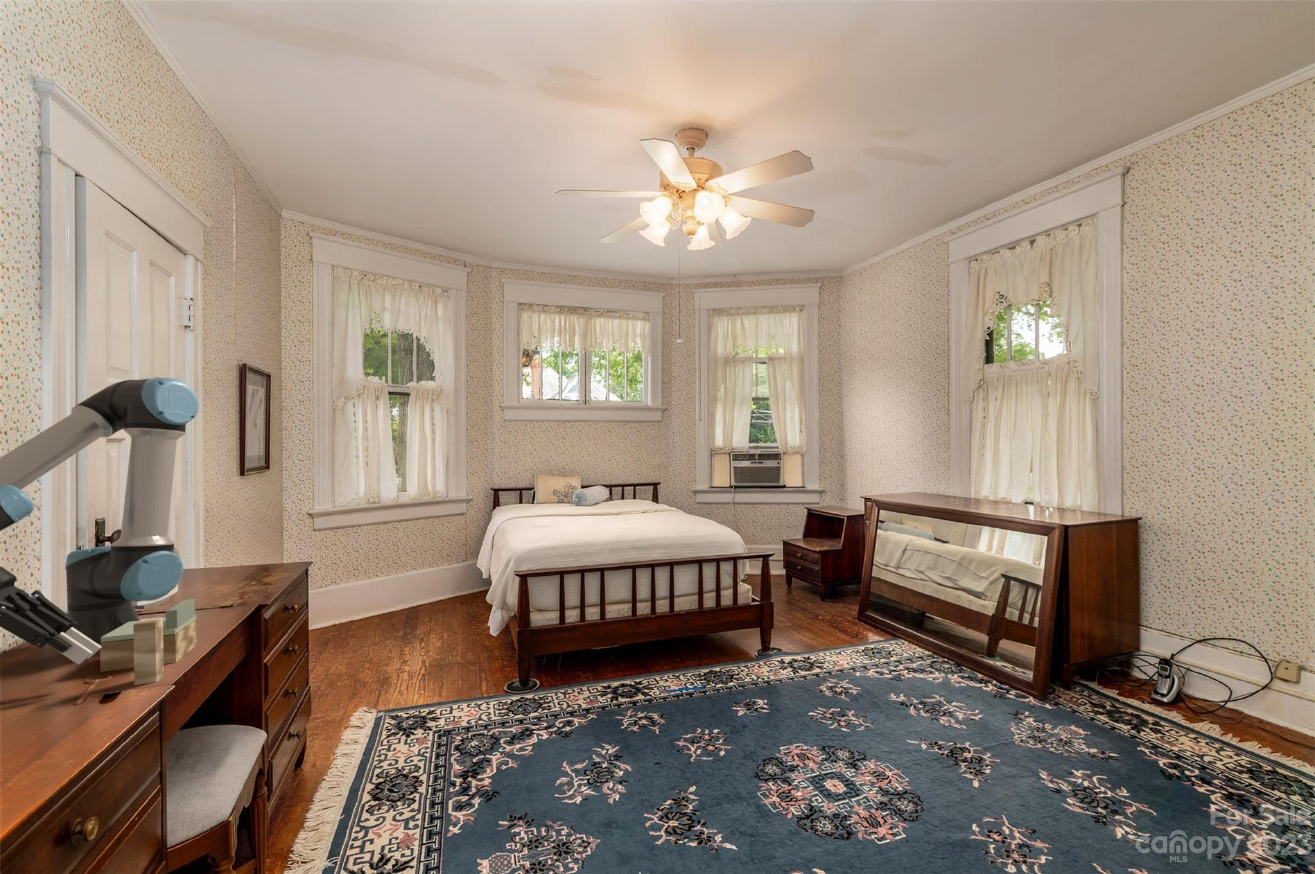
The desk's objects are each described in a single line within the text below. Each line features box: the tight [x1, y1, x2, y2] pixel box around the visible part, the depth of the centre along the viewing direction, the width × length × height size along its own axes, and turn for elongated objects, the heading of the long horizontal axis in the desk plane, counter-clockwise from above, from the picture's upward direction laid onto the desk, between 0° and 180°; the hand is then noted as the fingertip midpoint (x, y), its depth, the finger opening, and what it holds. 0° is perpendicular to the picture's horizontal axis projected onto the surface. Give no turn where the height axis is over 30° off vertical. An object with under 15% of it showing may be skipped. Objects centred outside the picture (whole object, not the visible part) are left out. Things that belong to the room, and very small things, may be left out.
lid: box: [101, 598, 197, 642], centre depth 131 cm, size 12×13×5 cm
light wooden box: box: [99, 619, 198, 673], centre depth 131 cm, size 12×13×6 cm
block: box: [133, 616, 165, 686], centre depth 118 cm, size 4×4×12 cm
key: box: [74, 674, 112, 705], centre depth 115 cm, size 6×1×15 cm
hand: (90, 655), depth 116 cm, fingers open, 3 cm apart
